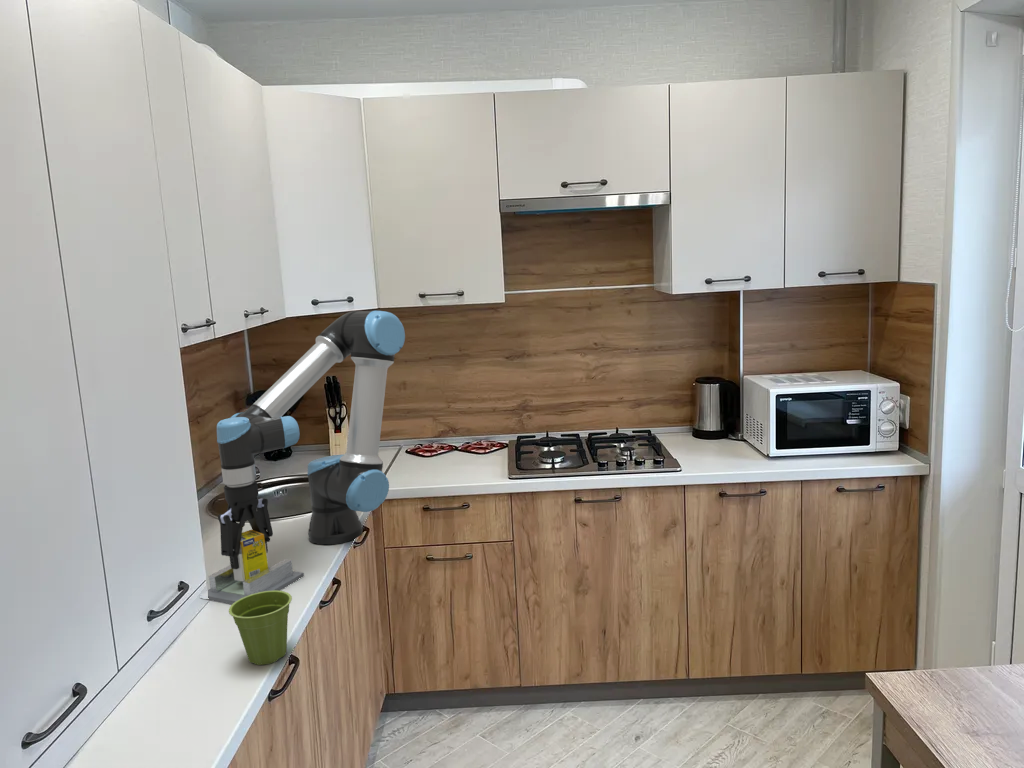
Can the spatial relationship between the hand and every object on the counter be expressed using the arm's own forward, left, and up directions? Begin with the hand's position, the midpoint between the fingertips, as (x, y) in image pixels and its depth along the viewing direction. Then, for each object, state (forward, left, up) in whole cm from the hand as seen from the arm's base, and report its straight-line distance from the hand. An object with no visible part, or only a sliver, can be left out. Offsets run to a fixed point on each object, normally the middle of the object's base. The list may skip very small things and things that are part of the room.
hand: (251, 573), depth 180 cm
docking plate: (0, 0, -4) cm, 4 cm away
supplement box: (0, 0, -1) cm, 1 cm away
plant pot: (+24, +28, -4) cm, 37 cm away
